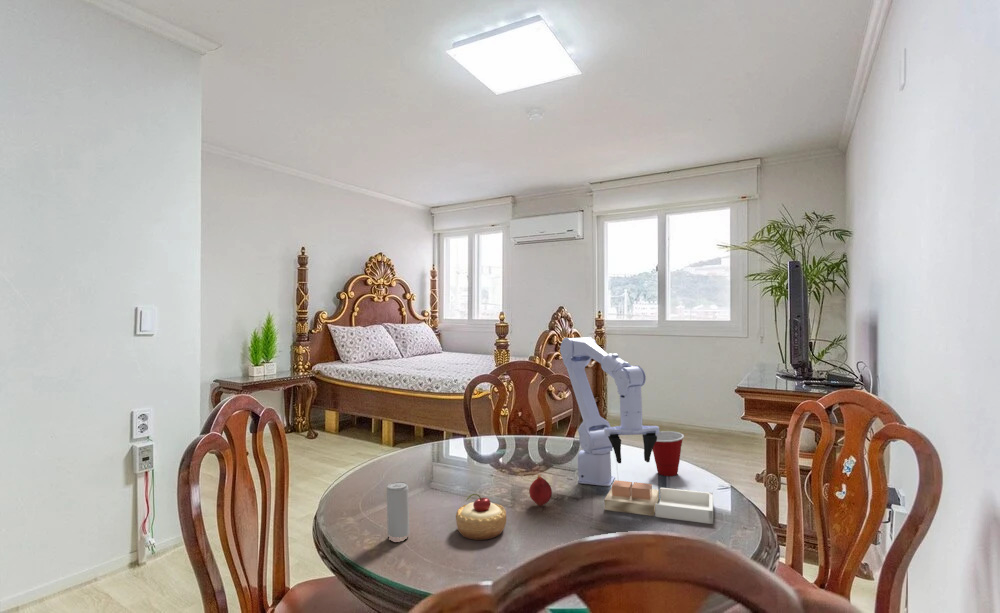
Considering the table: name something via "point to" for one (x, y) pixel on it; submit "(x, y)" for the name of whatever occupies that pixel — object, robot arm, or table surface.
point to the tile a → (622, 488)
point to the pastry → (481, 519)
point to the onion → (540, 491)
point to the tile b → (642, 490)
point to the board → (632, 503)
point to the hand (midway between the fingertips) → (632, 461)
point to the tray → (685, 505)
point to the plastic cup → (668, 452)
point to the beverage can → (397, 509)
